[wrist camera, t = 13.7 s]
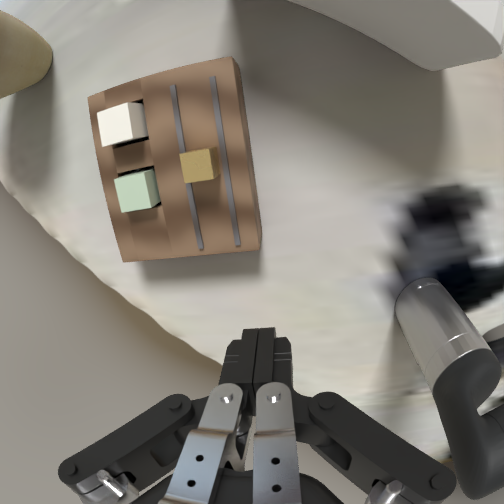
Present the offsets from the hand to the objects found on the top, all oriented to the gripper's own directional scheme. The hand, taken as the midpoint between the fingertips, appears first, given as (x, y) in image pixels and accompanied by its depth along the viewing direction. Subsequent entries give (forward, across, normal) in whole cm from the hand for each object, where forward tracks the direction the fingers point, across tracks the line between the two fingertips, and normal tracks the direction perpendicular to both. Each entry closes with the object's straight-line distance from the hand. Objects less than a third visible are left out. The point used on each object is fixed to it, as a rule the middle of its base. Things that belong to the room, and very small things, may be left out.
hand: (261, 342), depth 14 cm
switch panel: (+27, +11, -7) cm, 30 cm away
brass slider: (+21, +6, -7) cm, 23 cm away
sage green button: (+24, +15, -5) cm, 29 cm away
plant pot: (+27, +34, -30) cm, 53 cm away
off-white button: (+23, +15, -13) cm, 30 cm away
